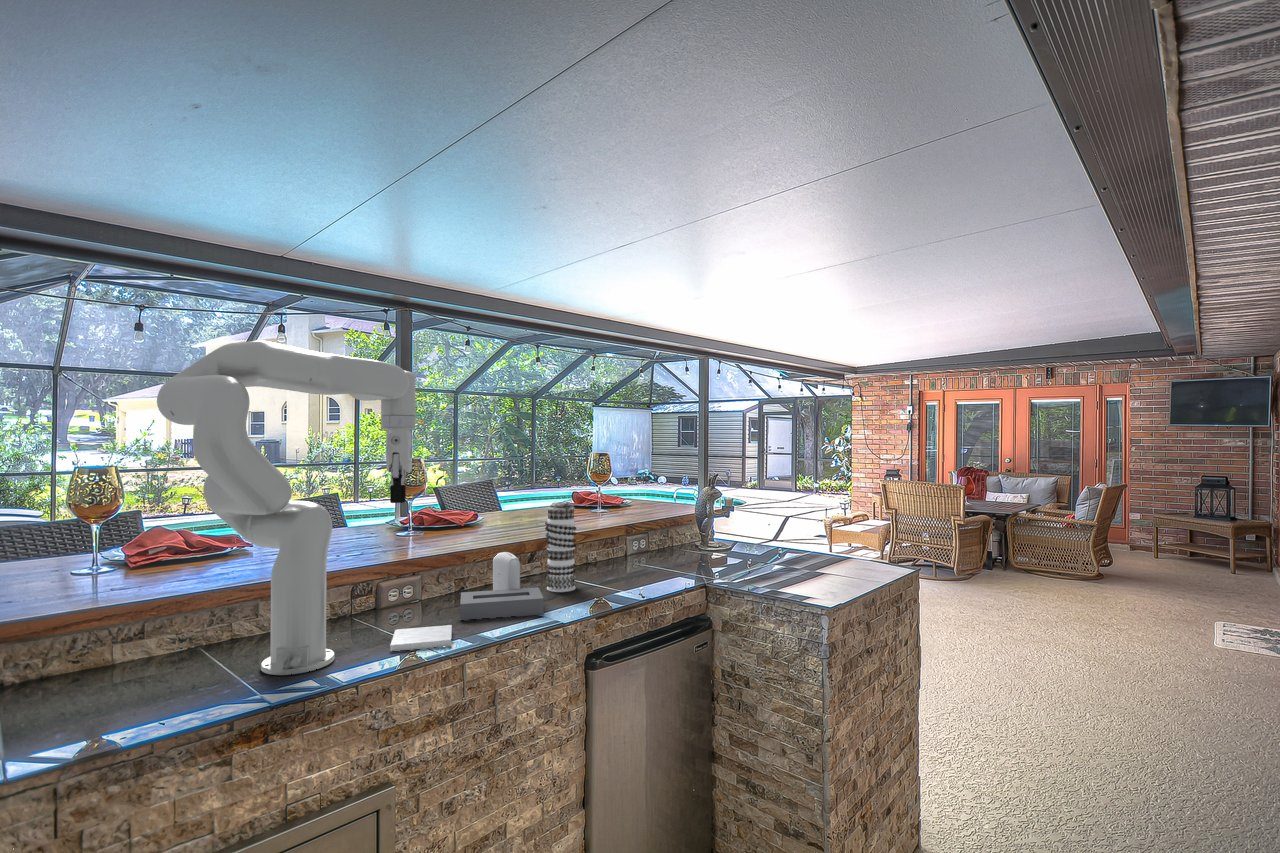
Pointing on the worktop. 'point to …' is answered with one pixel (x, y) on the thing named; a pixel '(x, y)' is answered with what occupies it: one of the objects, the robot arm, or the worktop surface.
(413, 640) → the cover plate
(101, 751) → the worktop surface
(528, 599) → the slot holder
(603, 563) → the worktop surface
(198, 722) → the worktop surface
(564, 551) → the decorative candle
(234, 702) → the worktop surface
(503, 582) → the white rounded box
